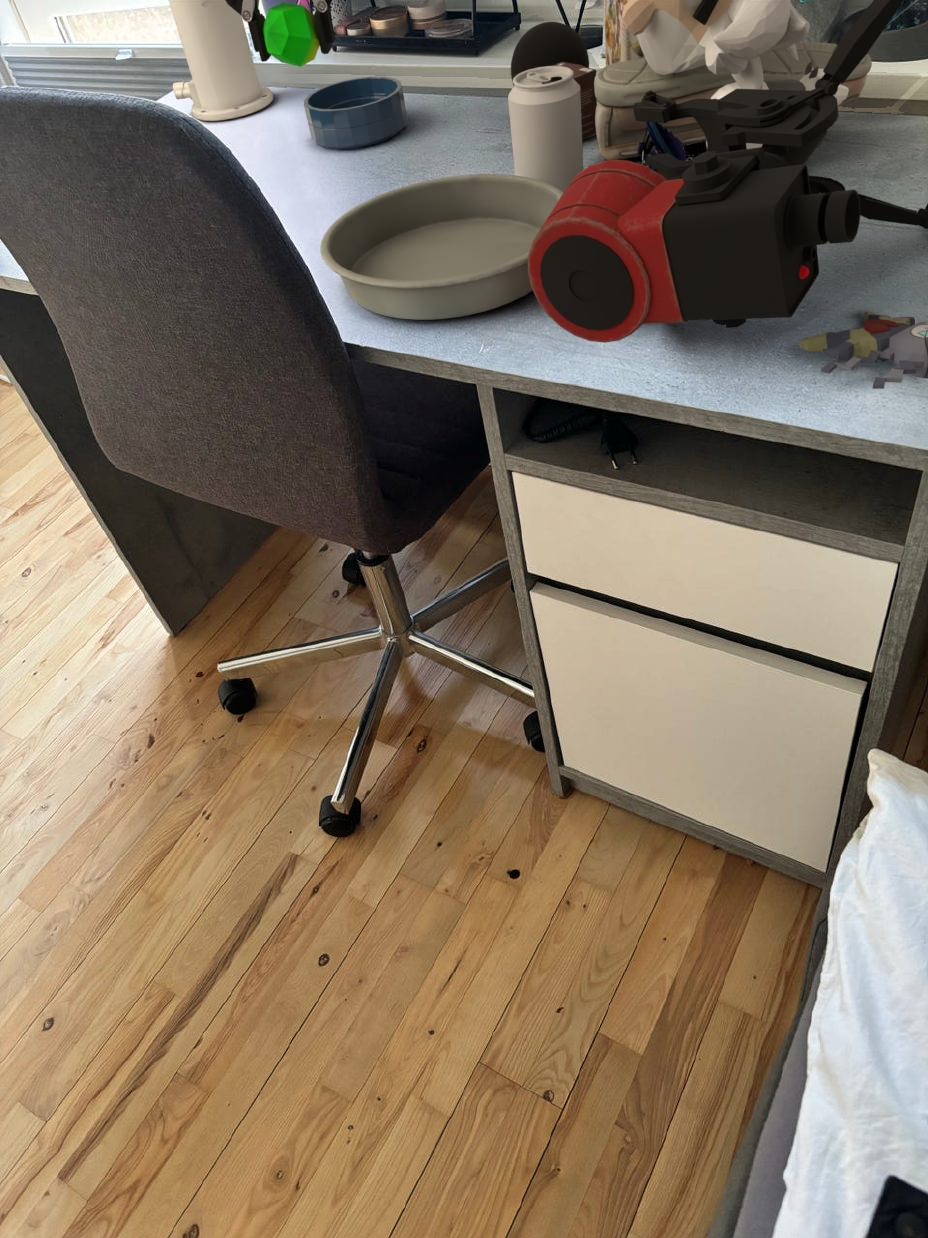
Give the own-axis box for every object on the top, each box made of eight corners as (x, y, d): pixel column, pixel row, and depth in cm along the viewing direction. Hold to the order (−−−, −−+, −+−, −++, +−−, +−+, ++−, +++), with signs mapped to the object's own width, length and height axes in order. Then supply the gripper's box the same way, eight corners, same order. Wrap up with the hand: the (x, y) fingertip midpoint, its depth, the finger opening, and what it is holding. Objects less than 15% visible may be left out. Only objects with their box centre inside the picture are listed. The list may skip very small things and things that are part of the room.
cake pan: (567, 201, 99) (564, 157, 96) (585, 312, 82) (583, 263, 79) (343, 231, 101) (334, 189, 98) (316, 344, 84) (303, 298, 81)
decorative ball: (605, 108, 119) (603, 19, 112) (538, 129, 117) (532, 40, 110) (564, 91, 126) (560, 6, 119) (501, 112, 124) (492, 26, 117)
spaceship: (651, 167, 96) (632, 199, 101) (704, 165, 97) (683, 197, 102) (634, 106, 97) (616, 141, 102) (687, 106, 99) (667, 140, 104)
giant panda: (707, 188, 98) (712, 89, 91) (695, 168, 101) (699, 72, 95) (846, 166, 97) (863, 65, 90) (829, 147, 101) (844, 49, 94)
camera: (972, 227, 82) (869, 426, 69) (667, 252, 101) (539, 412, 87) (971, -108, 66) (837, 65, 53) (609, -6, 85) (440, 142, 71)
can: (565, 210, 99) (558, 86, 90) (504, 204, 102) (492, 84, 93) (595, 182, 103) (592, 62, 94) (536, 177, 106) (528, 60, 98)
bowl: (301, 154, 123) (290, 114, 119) (328, 119, 131) (319, 81, 128) (395, 147, 120) (388, 105, 116) (417, 112, 129) (411, 72, 125)
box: (529, 140, 115) (524, 75, 110) (565, 125, 117) (562, 60, 112) (562, 150, 111) (558, 82, 106) (599, 134, 113) (597, 67, 108)
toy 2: (894, 278, 76) (1079, 304, 64) (890, 324, 78) (1069, 358, 66) (764, 332, 71) (940, 371, 59) (764, 380, 73) (933, 426, 61)
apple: (289, 63, 101) (351, 67, 107) (283, -7, 98) (347, 2, 104) (250, 68, 105) (311, 71, 111) (243, 1, 102) (306, 9, 108)
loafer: (858, 29, 102) (839, 118, 109) (590, 51, 104) (589, 137, 111) (885, 64, 95) (863, 156, 102) (597, 87, 97) (595, 176, 104)
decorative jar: (697, 95, 117) (704, -78, 105) (721, 125, 109) (733, -60, 96) (604, 111, 118) (599, -60, 105) (621, 142, 110) (619, -39, 97)
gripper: (341, -167, 93) (376, 35, 106) (181, -141, 96) (233, 52, 109) (328, -155, 88) (365, 55, 101) (158, -128, 91) (216, 73, 104)
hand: (297, 52), depth 105 cm, fingers closed on apple, 6 cm apart
